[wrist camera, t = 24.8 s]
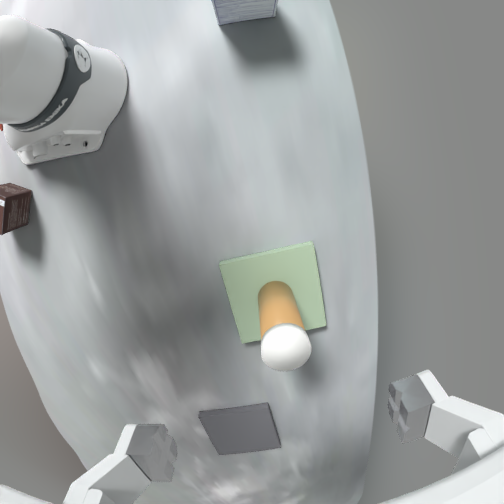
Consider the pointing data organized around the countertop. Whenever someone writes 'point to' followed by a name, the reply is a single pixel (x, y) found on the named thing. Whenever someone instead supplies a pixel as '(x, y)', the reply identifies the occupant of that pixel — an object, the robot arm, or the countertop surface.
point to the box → (13, 207)
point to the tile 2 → (241, 429)
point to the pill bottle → (281, 328)
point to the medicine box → (243, 10)
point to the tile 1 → (273, 269)
